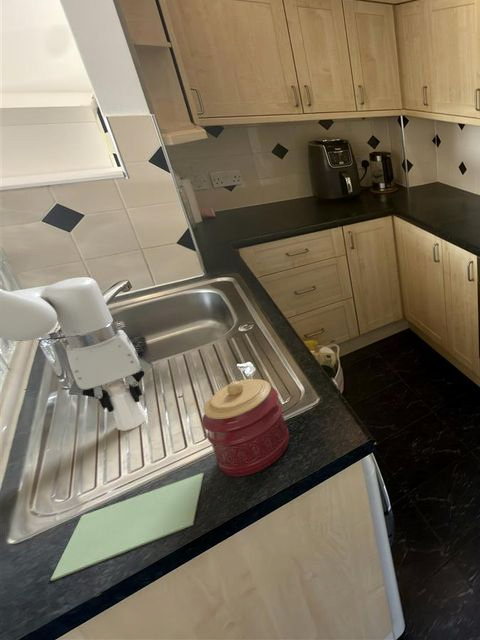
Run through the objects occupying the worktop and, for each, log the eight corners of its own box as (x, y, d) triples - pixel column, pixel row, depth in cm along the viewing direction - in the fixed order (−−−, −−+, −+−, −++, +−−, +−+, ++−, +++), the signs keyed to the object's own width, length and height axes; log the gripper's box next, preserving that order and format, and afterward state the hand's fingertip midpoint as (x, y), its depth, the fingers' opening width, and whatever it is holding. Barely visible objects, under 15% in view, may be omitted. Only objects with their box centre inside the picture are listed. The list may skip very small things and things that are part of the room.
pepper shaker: (143, 411, 98) (126, 373, 94) (152, 419, 95) (135, 381, 91) (114, 425, 94) (95, 386, 90) (122, 434, 91) (103, 395, 87)
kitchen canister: (283, 420, 94) (264, 355, 87) (297, 453, 84) (277, 384, 78) (215, 450, 86) (189, 381, 80) (224, 491, 77) (195, 417, 70)
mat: (51, 581, 63) (50, 579, 62) (82, 517, 73) (81, 515, 72) (193, 525, 70) (192, 523, 70) (204, 473, 80) (203, 472, 80)
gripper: (143, 314, 94) (169, 380, 100) (37, 343, 84) (74, 413, 90) (144, 326, 89) (171, 394, 95) (32, 358, 78) (71, 432, 85)
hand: (124, 403), depth 92 cm, fingers closed on pepper shaker, 3 cm apart
